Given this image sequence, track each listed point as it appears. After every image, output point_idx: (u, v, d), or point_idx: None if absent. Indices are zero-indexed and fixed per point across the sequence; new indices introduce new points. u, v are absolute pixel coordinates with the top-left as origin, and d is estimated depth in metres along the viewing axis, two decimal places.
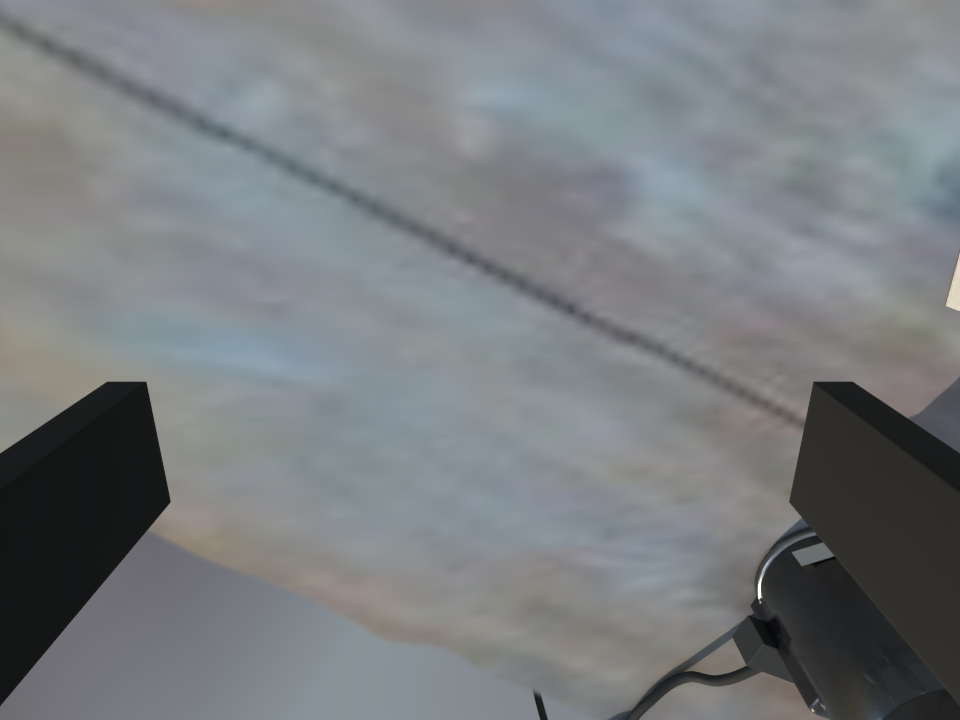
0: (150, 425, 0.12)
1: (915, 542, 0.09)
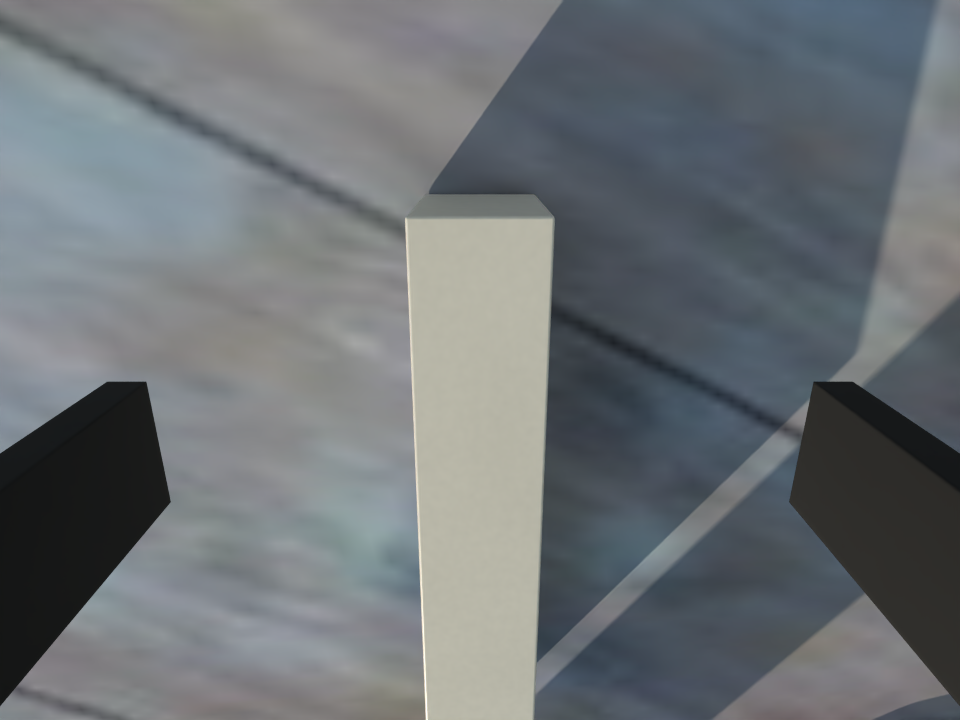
0: (151, 425, 0.12)
1: (915, 542, 0.09)
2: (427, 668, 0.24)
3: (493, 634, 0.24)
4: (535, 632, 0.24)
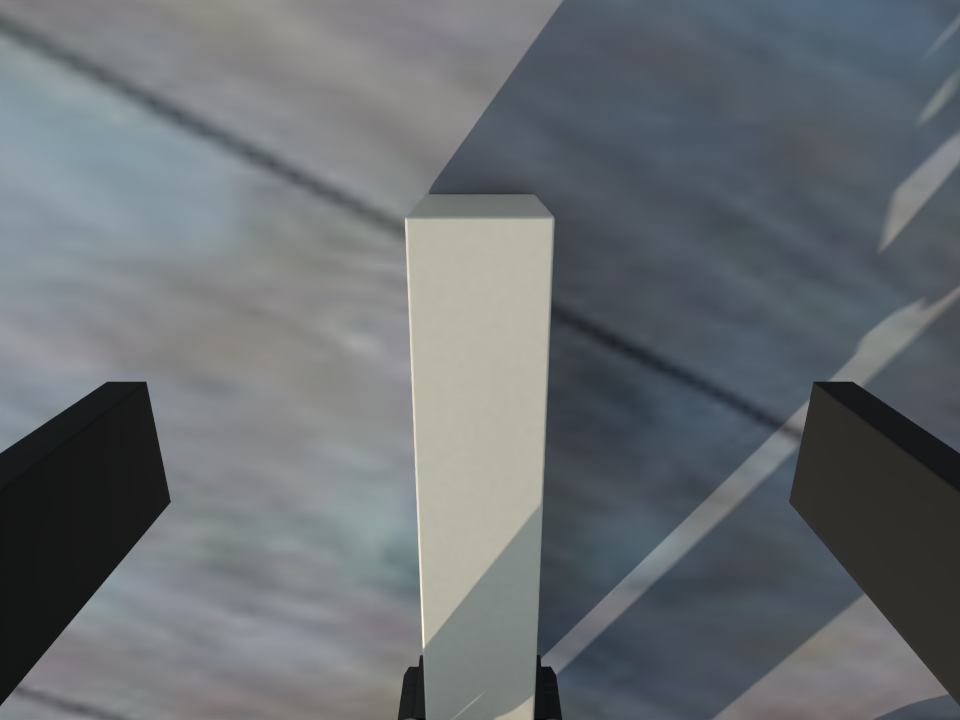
0: (150, 425, 0.12)
1: (915, 542, 0.09)
2: (427, 668, 0.24)
3: (493, 634, 0.24)
4: (535, 632, 0.24)
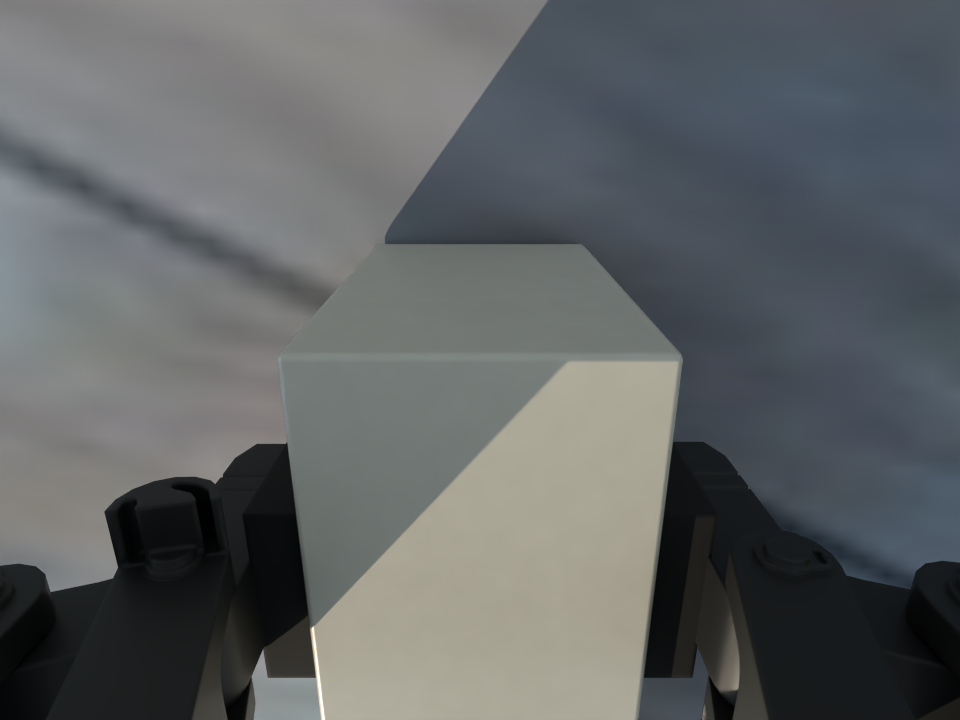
0: None
1: None
2: None
3: None
4: None
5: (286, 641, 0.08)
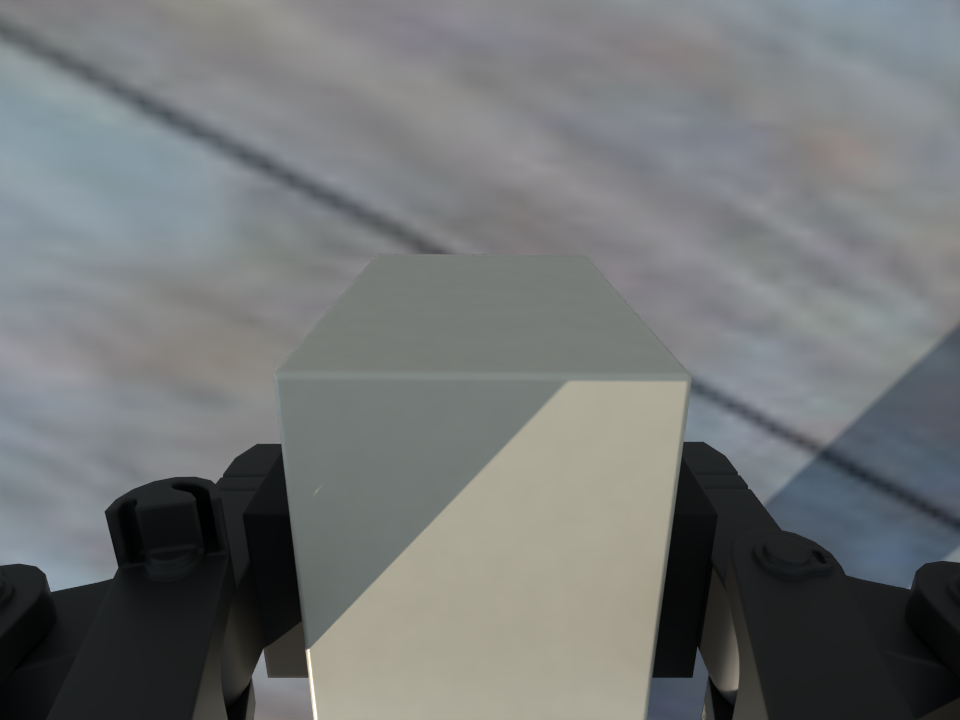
0: None
1: None
2: None
3: None
4: None
5: (286, 641, 0.08)
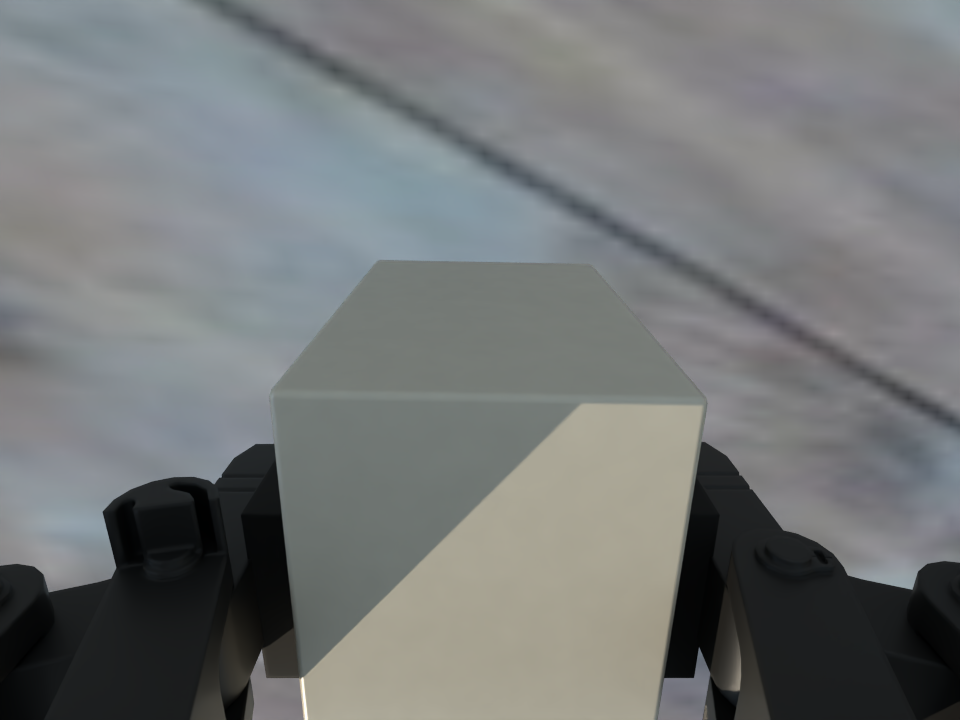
0: None
1: None
2: None
3: None
4: None
5: (285, 641, 0.08)
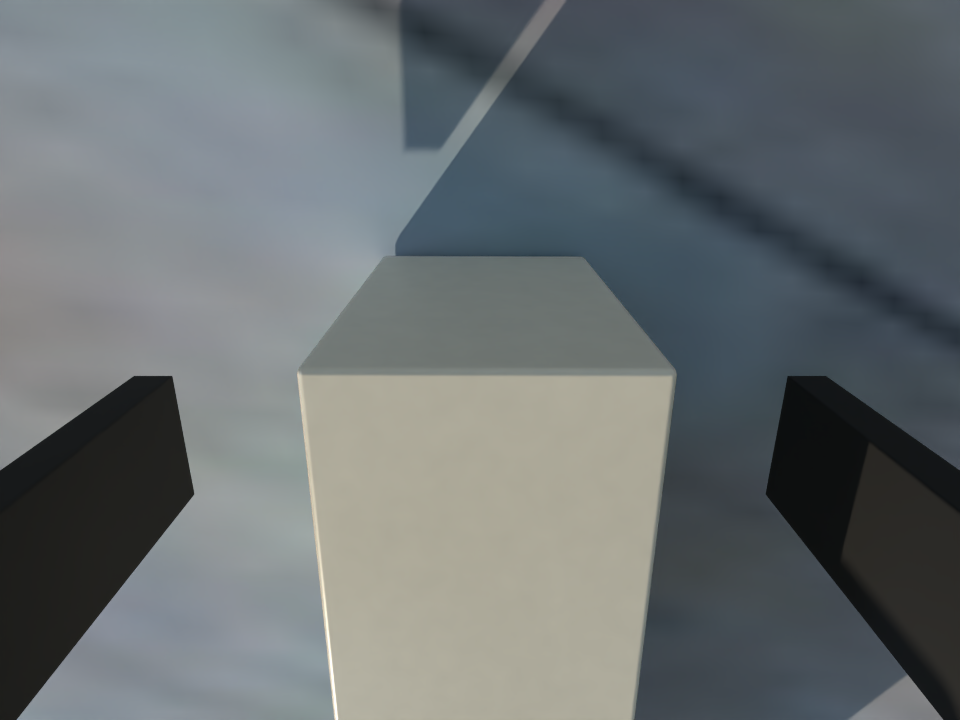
0: (175, 418, 0.12)
1: (878, 530, 0.09)
2: None
3: None
4: None
5: None
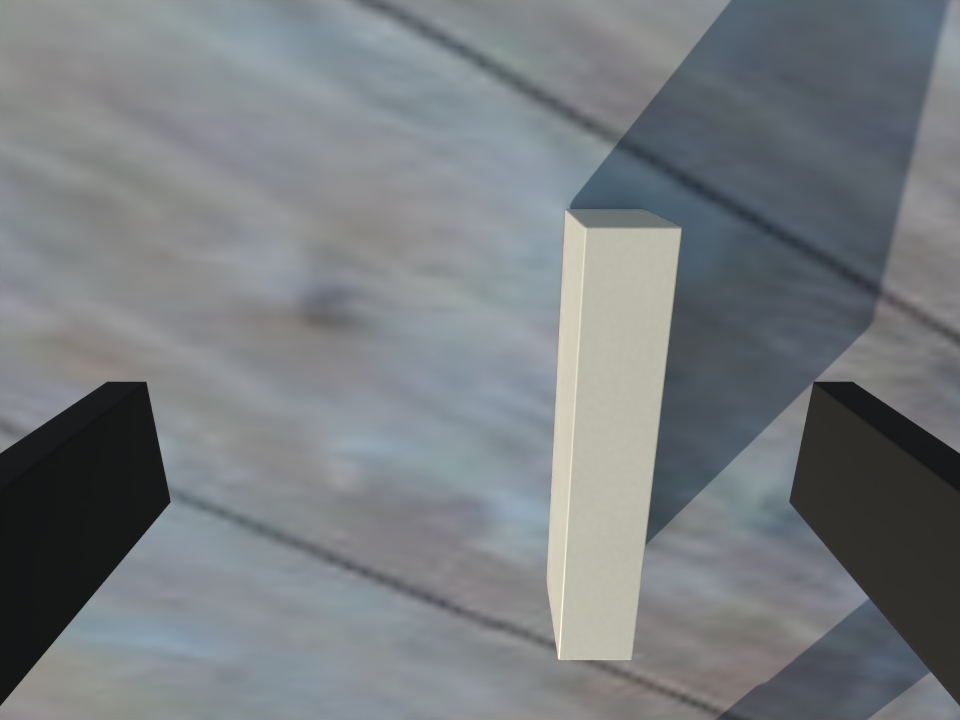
0: (150, 425, 0.12)
1: (915, 542, 0.09)
2: (568, 546, 0.34)
3: (617, 520, 0.34)
4: (647, 519, 0.34)
5: None
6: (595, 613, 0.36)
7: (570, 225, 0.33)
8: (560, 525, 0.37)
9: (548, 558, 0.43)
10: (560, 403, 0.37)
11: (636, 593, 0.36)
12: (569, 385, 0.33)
